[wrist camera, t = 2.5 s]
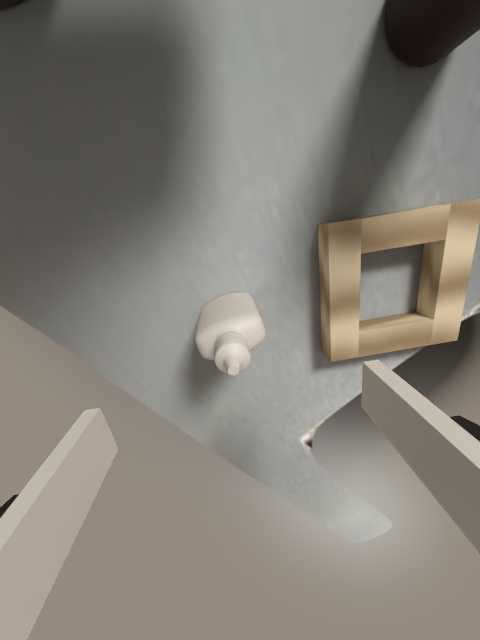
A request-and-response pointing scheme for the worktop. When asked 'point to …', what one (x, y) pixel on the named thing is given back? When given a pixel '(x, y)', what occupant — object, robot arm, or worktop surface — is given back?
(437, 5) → the vinegar
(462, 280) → the square wooden frame
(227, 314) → the eye dropper bottle
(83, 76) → the worktop surface
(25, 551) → the robot arm
